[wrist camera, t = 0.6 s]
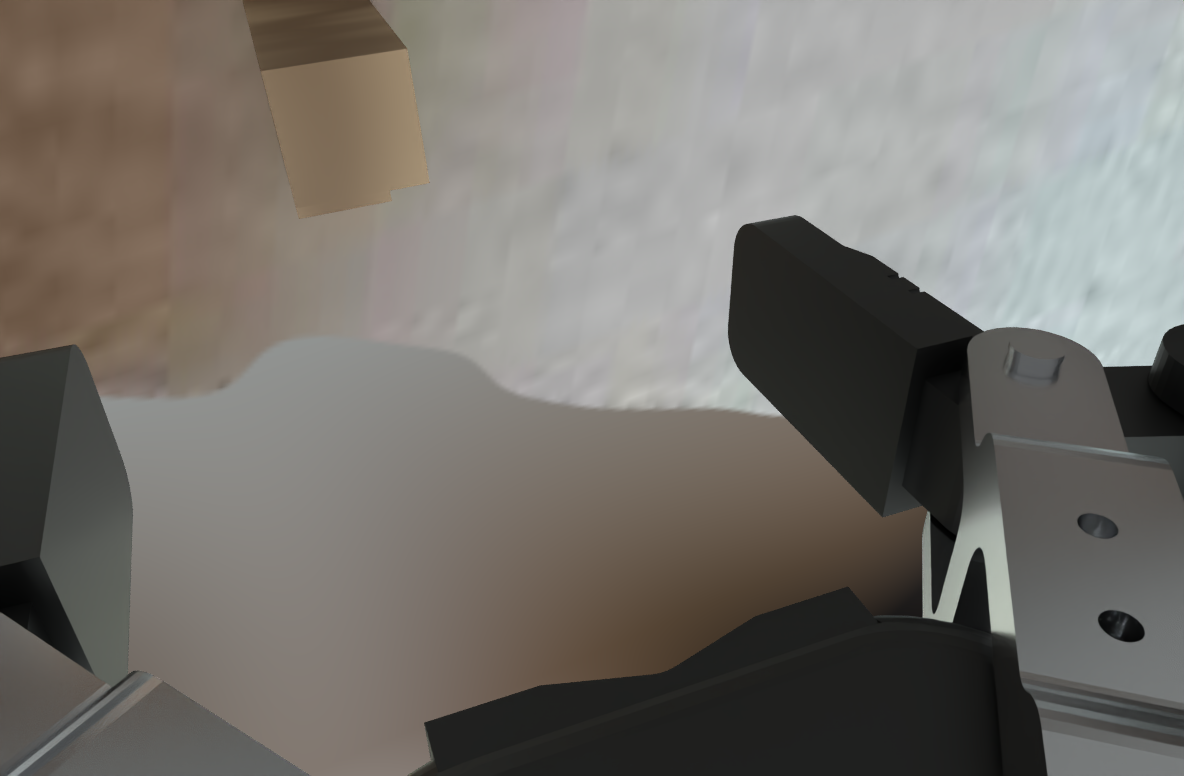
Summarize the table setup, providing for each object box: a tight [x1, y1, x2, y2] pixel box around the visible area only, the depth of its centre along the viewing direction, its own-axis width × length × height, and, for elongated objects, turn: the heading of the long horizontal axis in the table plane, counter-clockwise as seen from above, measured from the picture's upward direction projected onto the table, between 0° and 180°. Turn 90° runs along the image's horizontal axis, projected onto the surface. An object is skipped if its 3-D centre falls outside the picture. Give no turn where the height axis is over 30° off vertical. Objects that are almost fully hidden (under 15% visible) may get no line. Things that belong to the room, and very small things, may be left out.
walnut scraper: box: [242, 0, 430, 219], centre depth 25 cm, size 3×11×12 cm, turn 3°
